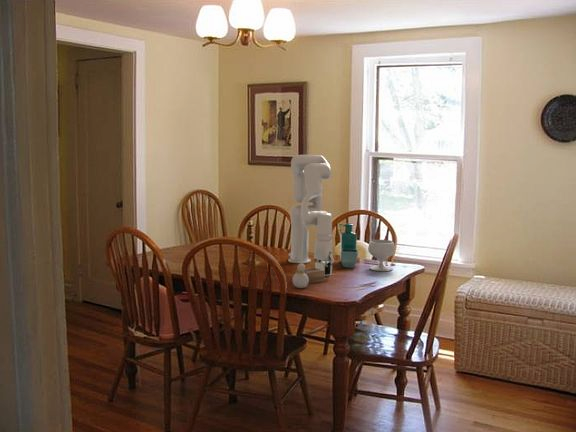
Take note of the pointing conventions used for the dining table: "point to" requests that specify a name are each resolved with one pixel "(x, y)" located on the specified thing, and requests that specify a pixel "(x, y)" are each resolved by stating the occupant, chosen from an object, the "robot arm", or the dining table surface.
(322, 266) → the cream block
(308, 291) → the dining table surface
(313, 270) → the walnut pedestal
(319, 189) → the robot arm
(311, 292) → the dining table surface
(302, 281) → the perfume bottle
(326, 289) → the dining table surface
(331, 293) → the dining table surface
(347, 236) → the pitcher
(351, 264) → the flower pot
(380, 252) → the chalice
